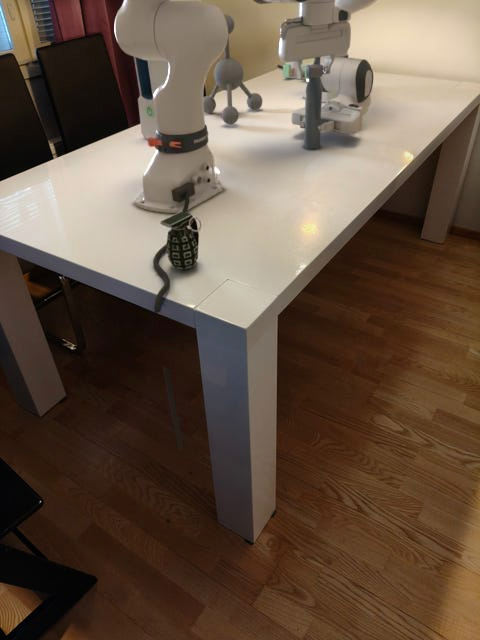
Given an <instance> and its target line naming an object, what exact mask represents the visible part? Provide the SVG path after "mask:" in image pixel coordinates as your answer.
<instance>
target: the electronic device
mask: <svg viewBox="0 0 480 640" xmlns="http://www.w3.org/2000/svg"><path fill="white" fill-rule="evenodd" d="M133 60H134V61H133V62H134V65H135V72H136V79H137V86H138V90H139V97H138V98H137V103H138V113H139V123H140V129H141V130H140V131H141V135H142V136H143V138H144V139H146V140H148V139H149V138H150V137H152V138H156V130H157V129H158V128H157V121H156V114H155V107H154V100H153V96H154V93H155V91H156V89H157V88H158V86H159V85H160V84H162V83H163V82H164V81H166V80H167V78H168V72H169V65H168V62H167V61H149V60H143V59H139V58H136V57H134V56H133Z"/></svg>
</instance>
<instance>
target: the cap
mask: <svg viewBox="0 0 480 640" xmlns="http://www.w3.org/2000/svg"><path fill="white" fill-rule="evenodd" d="M306 76H307V77H311V78H316V77H321V76H323V65H318V64H314V65H308V66H307V70H306Z"/></svg>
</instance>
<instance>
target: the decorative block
mask: <svg viewBox="0 0 480 640" xmlns="http://www.w3.org/2000/svg"><path fill="white" fill-rule="evenodd" d="M314 59H315V58H311V59H305V60H302V65H301V68H302V70H303V71H305V78H304V79H303V80H306V79H309V77H307V76H306V70H307V66H308V65H313V63H314ZM282 66H283V68H282V77H283V78H288V79H297V80H299V79H298V78H297V71H296V69H295V67H294V65H293V62H285V63H284V64H283V65H282Z"/></svg>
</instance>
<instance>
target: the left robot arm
mask: <svg viewBox="0 0 480 640" xmlns="http://www.w3.org/2000/svg"><path fill="white" fill-rule="evenodd" d="M252 1H253V2H255V3H256V4H259V5H266V4H298V6H297V7H298V8H297V12H298V13H297V17H293V18H286V19H285V20H284V21H283V22H282V23H281V25H280V27H279V44H278V59H279V60H280V61H281V62H284V63H286V62H293V65H294V67H295V69H296V71H297V78H298V79H297V80H305V79H304V78H305V71H303V70H302V68H301V65H302V60H305V59H311V58H317V57H323V56H326V59H327V61H326V64H325V66H323V74H324V75H326V74H330V69H331V66H332V64H333V62H334V60H335V54H340V53H346V52H347V51H348V52H349V49H350V47H351V40H352V39H351V35H352V28H351V23H350V22H349V21H351V19H352V14H351V12H350V11H349V10H346V9H343V8H340V7H337V6H335V0H252ZM113 28H114V35H115V39H116V42H117V44H118V46H119V48H120V49H121V50H122V51H123V52H124V53H125V54H126V55H128V56H131V57H133V58H134V57H136V58H139V59H143V60H149V61H167V62H168V68H169V72H168V78H167V80H166V81H164V82H163V83H162V84H160V85H159V86H158V88H157V89H156V91H155V93H154V96H153V100H154V107H155V114H156V121H157V128H158V129H157V130H156V138H152V137H150V138H149V139H147V146H149V147H151V148H152V147H154V148H155V151H154V153H153V155H152V157H151V159H150V162H149V163H148V165H147V167H146V169H145V172H144V173H143V176H142V192H140V193H139V195H138V196H137V197H135V199H134V205H135V206H137V207H138V208H140V209H142V210H143V209H144V210H147V211H151V212H157V213H164V214H177V213H179V212H181V211H184V212H187V213H188V211H189V210H190V209H193V208H194V207H196V206H198V205H199V204H201V203H203V202H205V201H207V200H208V199H210V198H212V197H214V196H215V195H217V194H219V193H220V192H222V191H223V185H222V184H220V183H219V180H218V175H220V170H219V169H218V168H217V167H216V163H215V156H214V155H213V153H212V152H211V149H210V147H209V145H208V143H209V130H208V126H207V124H206V120H205V119H206V118H205V112H204V99H203V98H204V94H205V93H204V90H205V84H206V79H207V77H208V74H209V72H210V70H211V68H212V66H213V65H214V63H215V62H216V61H218V59H220V58H221V56H222V55H223V53H225V47H226V44H227V40H228V36H229V34H228V27H227V23H226V19H225V17H224V13H223V12H222V9H220V7H218V6H216V5H214V4H210V3H207V2H204V1H199V0H123V2H122V4H121V6H120V8H119V9H118V10H117V13H116V16H115V19H114V27H113ZM166 249H167V243H165V244H164V245H163V246H162V247H161V248H160V249H159V250H157V252H156V253H155V255H154V257H153V259H152V260H153V261H152V262H153V263H152V264H153V267H154V268H155V270H156V271H157V273H158V274H159V275H160V276H161V277H162V279H163V285H162V287H161V288H160V289H159V290H158V293H156V296H155V301H154V313H156V314H159V313H160V312H161V306H162V305H161V303H162V300H163V298H164V295H166V293H167V292H168V290H169V288H170V285H171V284H170V281H171V280H170V277H169V275H168V273H167V272H166V271H165V270H164V269H163V268H162V267H161V265H160V263H159V260H160V258H161V257H162V255H163V254H164V253H166V252H167V250H166ZM161 367H162V373H163V377H164V383H165V389H166V393H167V398H168V403H169V407H170V413H171V417H172V422H173V426H174V431H175V436H176V441H177V447H178V450H179V451H183V450H184V444H183V439H182V434H181V433H182V432H181V429H180V424H179V419H178V418H179V417H178V413H177V409H176V404H175V399H174V398H175V397H174V394H173V387H172V384H171V377H170V371H169V368H168V367H167V366H165V365H163V364H162V365H161Z"/></svg>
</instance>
